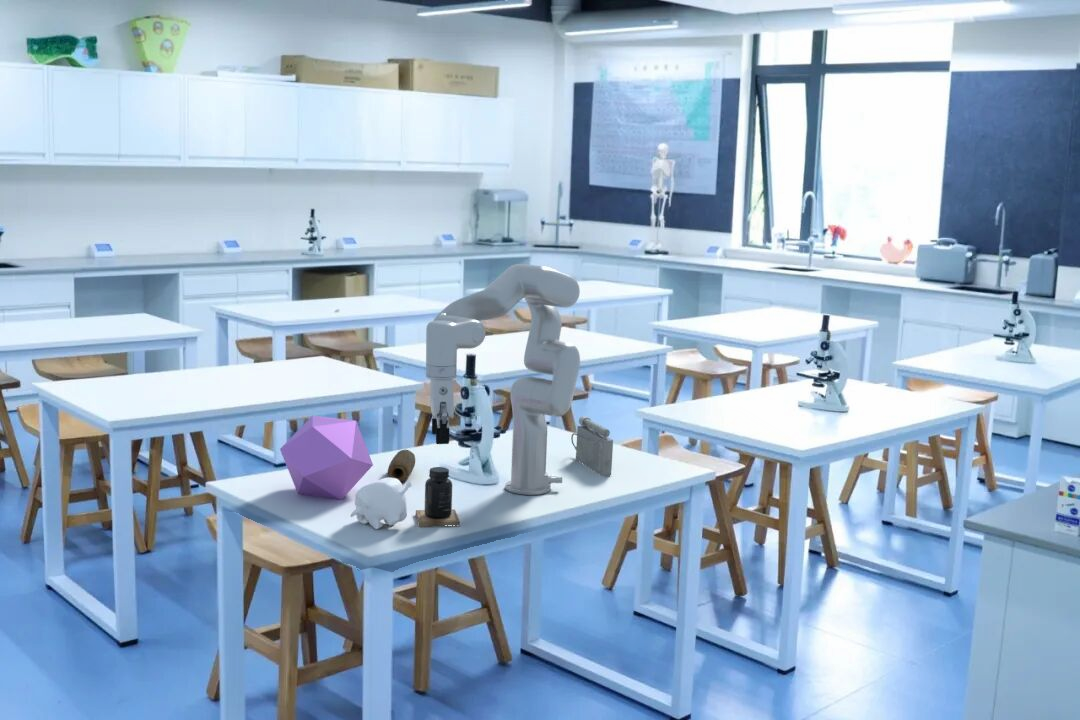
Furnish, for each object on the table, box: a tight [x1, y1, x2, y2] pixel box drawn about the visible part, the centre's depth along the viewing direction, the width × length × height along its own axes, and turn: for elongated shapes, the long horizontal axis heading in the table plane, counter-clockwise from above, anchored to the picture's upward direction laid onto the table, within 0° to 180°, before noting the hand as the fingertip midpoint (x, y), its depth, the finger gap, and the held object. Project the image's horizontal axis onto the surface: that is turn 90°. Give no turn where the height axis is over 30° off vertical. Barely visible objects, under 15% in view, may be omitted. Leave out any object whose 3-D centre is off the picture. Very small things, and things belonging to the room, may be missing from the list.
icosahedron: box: [279, 415, 374, 501], centre depth 306 cm, size 22×21×25 cm
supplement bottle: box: [424, 466, 453, 519], centre depth 286 cm, size 7×7×12 cm
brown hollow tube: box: [387, 449, 416, 482], centre depth 326 cm, size 15×7×7 cm, turn 2°
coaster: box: [415, 508, 461, 528], centre depth 288 cm, size 10×10×1 cm
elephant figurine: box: [349, 477, 412, 530], centre depth 281 cm, size 12×18×12 cm
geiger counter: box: [570, 415, 614, 477], centre depth 345 cm, size 14×6×25 cm
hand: (440, 438), depth 284 cm, fingers open, 9 cm apart
